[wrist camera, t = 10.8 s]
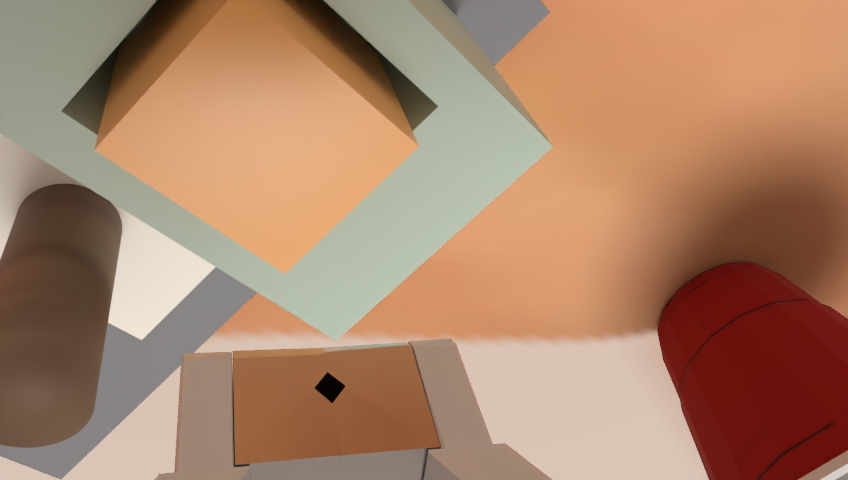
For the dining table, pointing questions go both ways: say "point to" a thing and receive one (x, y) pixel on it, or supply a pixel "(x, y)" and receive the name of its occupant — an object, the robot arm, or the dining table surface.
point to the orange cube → (255, 118)
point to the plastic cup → (759, 375)
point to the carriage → (71, 293)
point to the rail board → (339, 249)
